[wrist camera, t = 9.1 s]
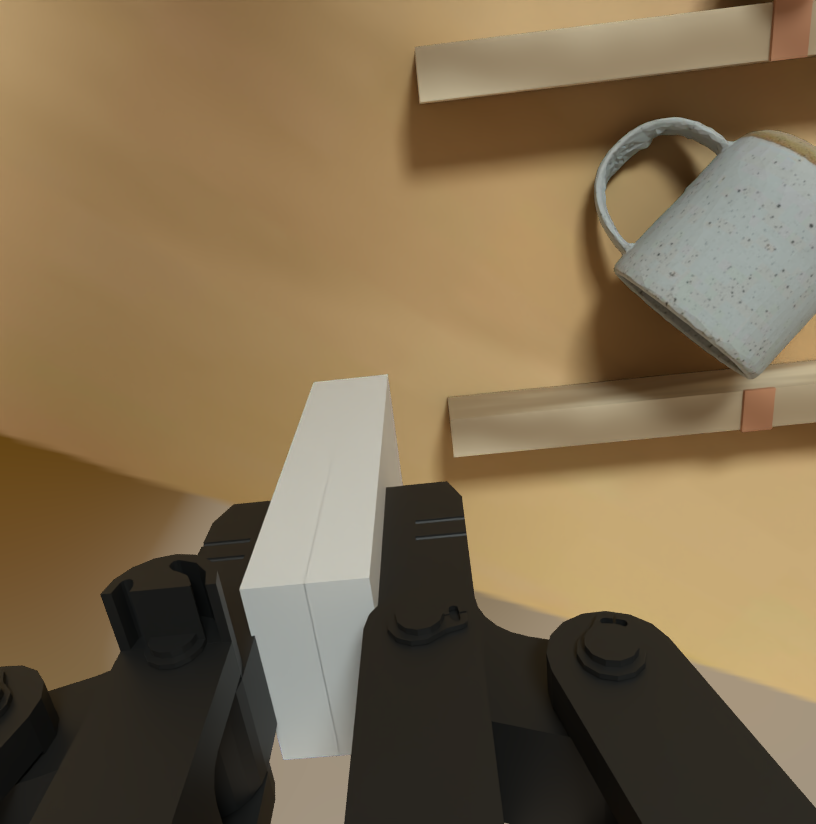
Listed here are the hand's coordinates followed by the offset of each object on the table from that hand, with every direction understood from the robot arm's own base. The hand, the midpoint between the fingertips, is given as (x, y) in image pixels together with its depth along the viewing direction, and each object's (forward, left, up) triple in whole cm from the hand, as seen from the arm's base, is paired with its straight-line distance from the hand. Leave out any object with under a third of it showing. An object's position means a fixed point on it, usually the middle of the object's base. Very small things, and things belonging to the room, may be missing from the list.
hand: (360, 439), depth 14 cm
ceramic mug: (0, +14, -21) cm, 25 cm away
